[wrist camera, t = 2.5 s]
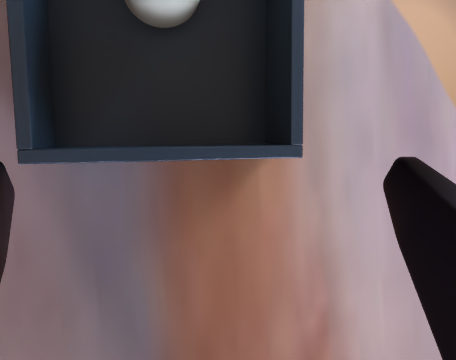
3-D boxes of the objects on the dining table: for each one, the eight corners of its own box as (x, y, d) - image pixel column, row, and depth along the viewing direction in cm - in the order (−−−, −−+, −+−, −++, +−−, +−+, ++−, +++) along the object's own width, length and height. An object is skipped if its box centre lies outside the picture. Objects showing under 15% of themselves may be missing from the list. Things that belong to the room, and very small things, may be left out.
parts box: (272, 153, 22) (302, 157, 18) (47, 158, 20) (17, 164, 16) (273, -91, 21) (306, -153, 17) (30, -116, 19) (-9, -196, 14)
